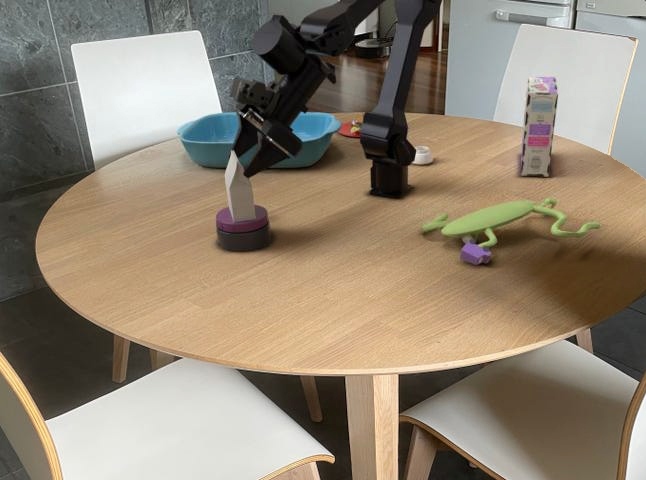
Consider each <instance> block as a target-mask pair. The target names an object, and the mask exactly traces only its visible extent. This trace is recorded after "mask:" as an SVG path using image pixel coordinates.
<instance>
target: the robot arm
mask: <svg viewBox="0 0 646 480" xmlns="http://www.w3.org/2000/svg"><path fill="white" fill-rule="evenodd" d="M386 1H387V0H338V1H337V2H335V3H333V4H332V5H328V6H325V7H322V8H319V9H317V10H315V11H313V12H311V13H310V14H308V15H306V16H305V17H304V18H303V19H302V20H301V22H300V24H299V25H297V26H296V27H295V26H294V27H293V25H292V24H291V23H290V22H289V20H288V19H287V17H285V15H283V14H275V13H274V14H273V15H272V17H271V19H270V20H269V21H266V22H265V23H264V24H262V25H261V26H260V27H259V28H258V30H257V31H255V32H254V34H253V36H252V38H251V50H252V52H253V53H254V54H255V55H256V56H258V58H260V59H261V60H262V62H264V63H265V64H266V65H267V66H269V68H271V69H272V70H273V71H274V72H275V73H277V75H281V77H280V78H279V79H278V80H277V81H275V80H274V79H273V80H271V81H269V82H268V84H267V85H266V83H264V82H263V81H258V80H257V79H254V78H253V79H252V80H249V79H246V78H243V77H240V76H237V75H235V76H234V78H233V82H232V86H231V89H230V92H229V97H230V98H233V101H235V102H237V104H236V106H235V108H236V109H237V110H238V111H237V110H236V111H235V112H236V115H237V117H238V122H239V128H238V131H237V134H236V137H235V140H234V143H233V145H232V148H231V150H232V151H233V150H234V152H235V154H236V157H237V159H238V158H239V157H241V156H242V155H243V154H245V153H246V152H247V151H249V150H250V149H251V148H253V147H254V146H255V145H256V144H258V146H257V148H256V150H255V152H254V154H253V155H252V157H251V159H250V161H249V163H248V164H247V166H246V168H244V172H243V175H244V176H245V177H246V178H249V179H250V178H252V177H254V176H255V175H257V174H259V173H261V172H263V171H265V170H268V169H270V168H269V167H271V166H273V165H275V164H277V163H279V162H281V161H283V160H285V159H290V158H291V157H290V156H289V155H288V153H290V154H291V155H292V156H294V157H295V158H296V157H297V155H298V154H299V153H300V151H301V150H302V148H303V147H302V140H301V139H300V138H299V137H298V136H296V135H295V134H294V133H293V132H292V131H293V129H292V128H291V127H290V126H291V125H292V124H293V122H294V121H295V119H296V118H297V117H298V115H299V114H300V113H301V112H303V113H304V114H306V112H309V110H310V109H309V108H308V107H307V106H306V105H307V104H309V102H310V100H311V99H312V98H313V97H314V95H315V94H316V92H317V91H318V90H319V89H320V88H321V86H322V84H323V83H324V82H325V80H326V81H328V82H329V83H331V84H332V85H336V83H337V77H336V66H335V65H334V64H332V63H331V62H329V61H325V62H324V61H323V60H322V59H321V58H320V57H319V56H318V55H320V56H325V57H333V58H337V57H338V58H339V57H340V56H341V55H343V53H344V52H346V50H347V49H348V47H349V46H350V45H351V44H352V42H353V41H354V40H355V35H356V30H357V29H358V27H359V26H360V25H361V24H362V23H363V22H364V21H365V20H366V19H368V18H369V16H371V14H373V13H374V12H375V11H376V10H377V9H379V7H380V6H382V5H383V4H384V2H386ZM442 3H443V0H393V8H394V13H395V16H396V21H397V24H396V28H395V33H394V37H393V41H392V45H391V49H390V54H389V58H388V62H387V66H386V70H385V74H384V77H383V78H384V79H383V83H382V87H381V91H380V95H379V99H378V102H377V105H376V106H375V107H374V108H373V109H372V110H371V111H368V110H366V111H365V112H364V113H365V114H364V116H363V123H362V127H361V129H360V131H359V133H361V135H360V137H359V144H360V145H361V148H362V151H363V154H364V157H365V160H368V161H369V160H370V161H371V167H370V168H369V175H370V176H369V177H370V178H369V179H370V188H371V189H370V190H369V191H368V194H369V195H373V196H380V197H385V198H386V197H387V198H392V199H399V198H401V197H403V196H404V195H405V194H406V193H407V192H408V191H409V190H411V189H412V184H409V166H411V164H413V163H412V162H414V161H415V156H416V149H415V146H413V144H412V142H410V141H409V140H408V132H409V125H408V121H407V116H406V113H405V110H406V106H407V101H408V97H409V93H410V89H411V86H412V81H413V76H414V73H415V69H416V66H417V61H418V57H419V53H420V49H421V45H422V41H423V37H424V33H425V30H426V29H427V27H428V26H429V25H430V24H431V23H432V21H434V19H436V17H437V16H438V14H439V11H440V9H441V5H442ZM238 112H241V114H240V113H238ZM260 129H261V130H262V131H263V132H262V131H261V130H260ZM230 156H231V151H230V154H229V156H228V158H229V159H230Z"/></svg>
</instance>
